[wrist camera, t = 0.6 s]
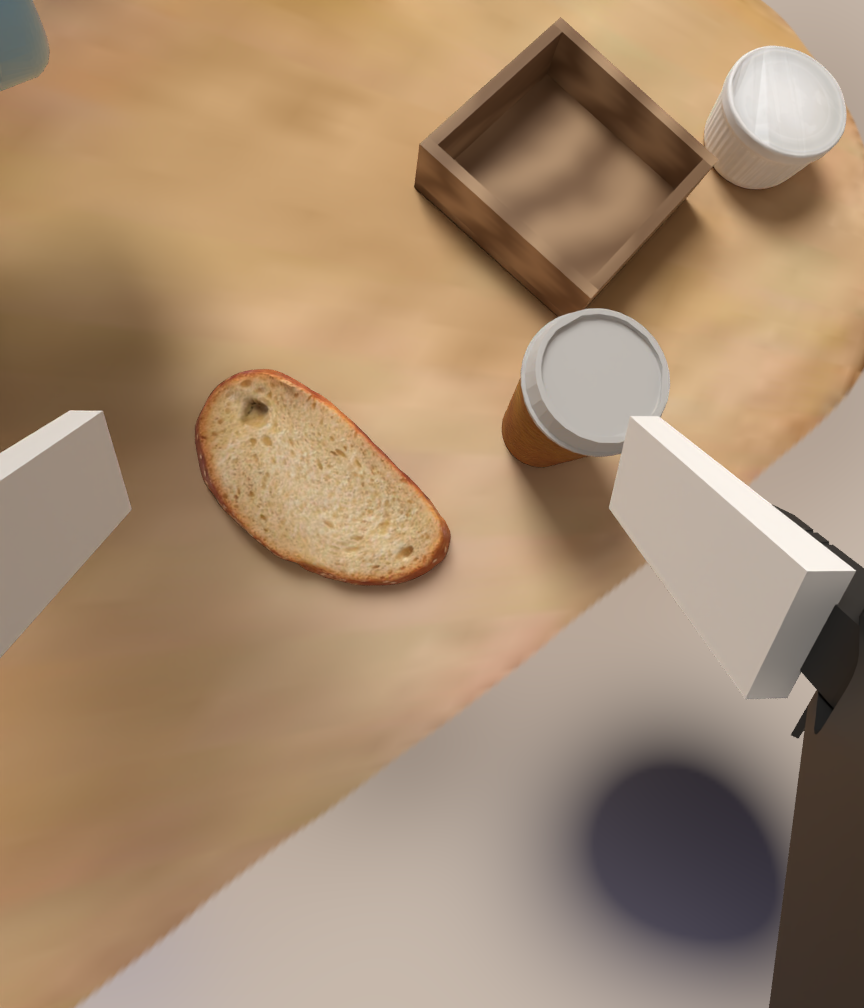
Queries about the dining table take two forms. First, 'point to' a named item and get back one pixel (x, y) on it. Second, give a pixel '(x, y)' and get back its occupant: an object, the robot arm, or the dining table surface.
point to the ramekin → (773, 117)
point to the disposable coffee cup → (584, 388)
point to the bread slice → (314, 483)
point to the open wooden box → (560, 168)
